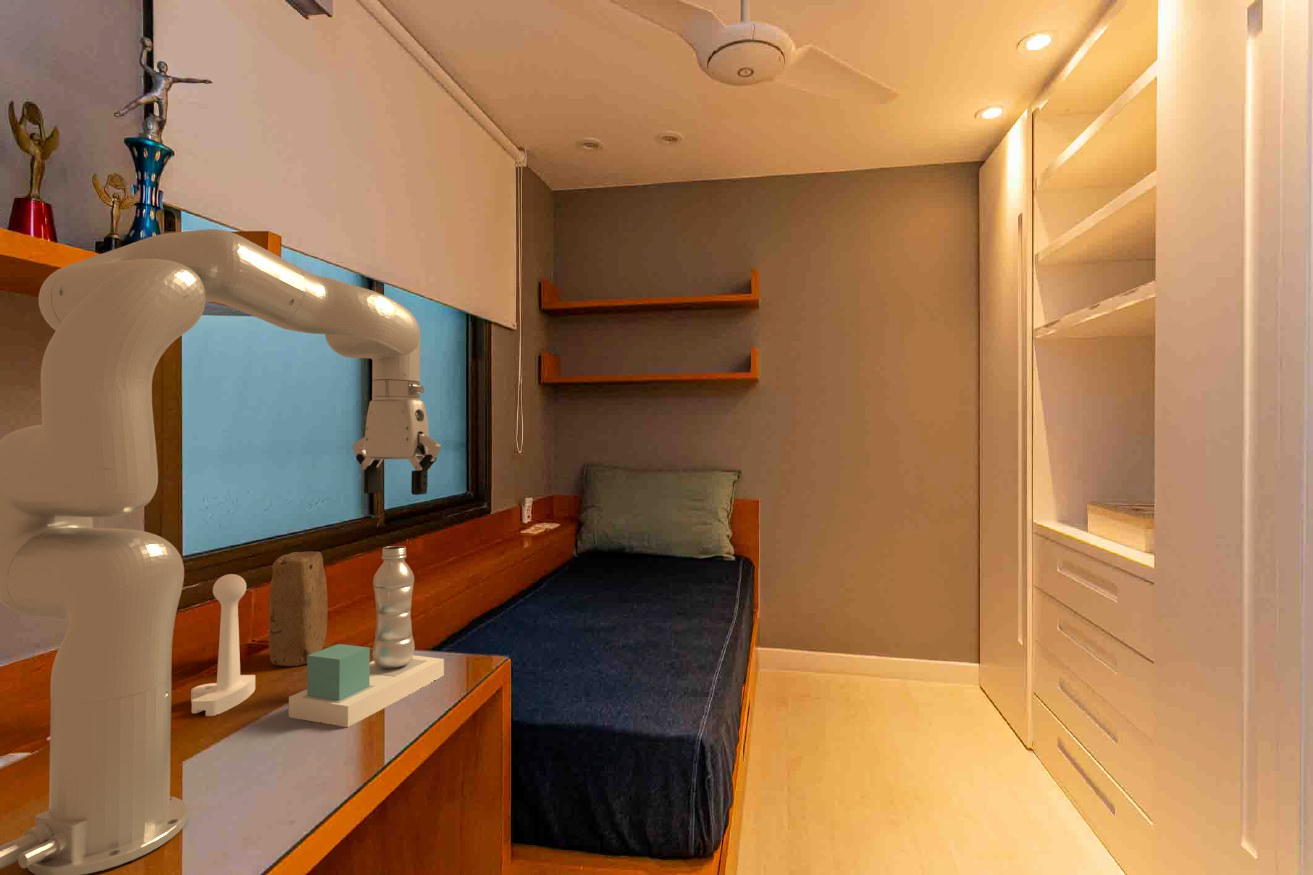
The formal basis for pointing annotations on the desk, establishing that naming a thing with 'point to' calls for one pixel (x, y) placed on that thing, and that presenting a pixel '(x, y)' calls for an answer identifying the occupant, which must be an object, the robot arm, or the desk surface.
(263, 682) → the desk surface
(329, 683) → the cube
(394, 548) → the plastic bottle
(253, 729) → the desk surface
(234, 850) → the desk surface
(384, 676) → the board
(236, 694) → the joystick
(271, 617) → the block
